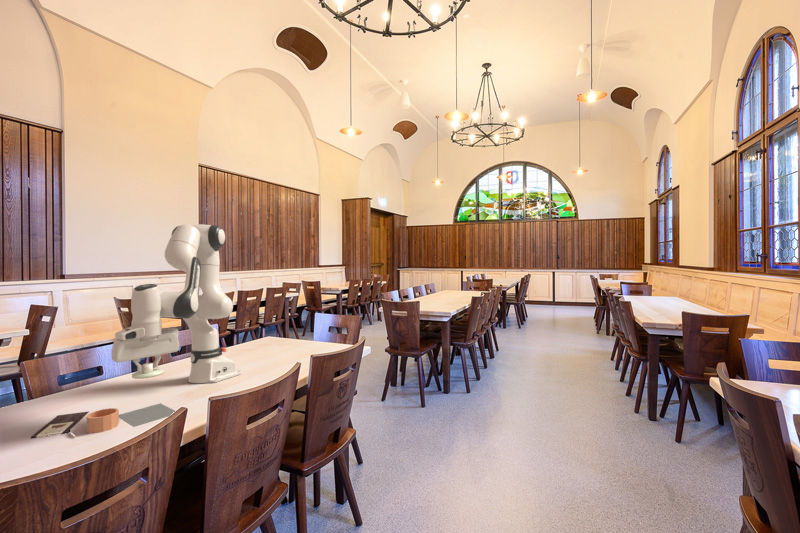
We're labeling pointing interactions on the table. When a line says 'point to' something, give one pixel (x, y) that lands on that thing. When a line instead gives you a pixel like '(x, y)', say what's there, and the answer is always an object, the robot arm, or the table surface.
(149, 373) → the lid
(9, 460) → the table surface
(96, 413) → the cup
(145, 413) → the mat
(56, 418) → the chocolate bar
